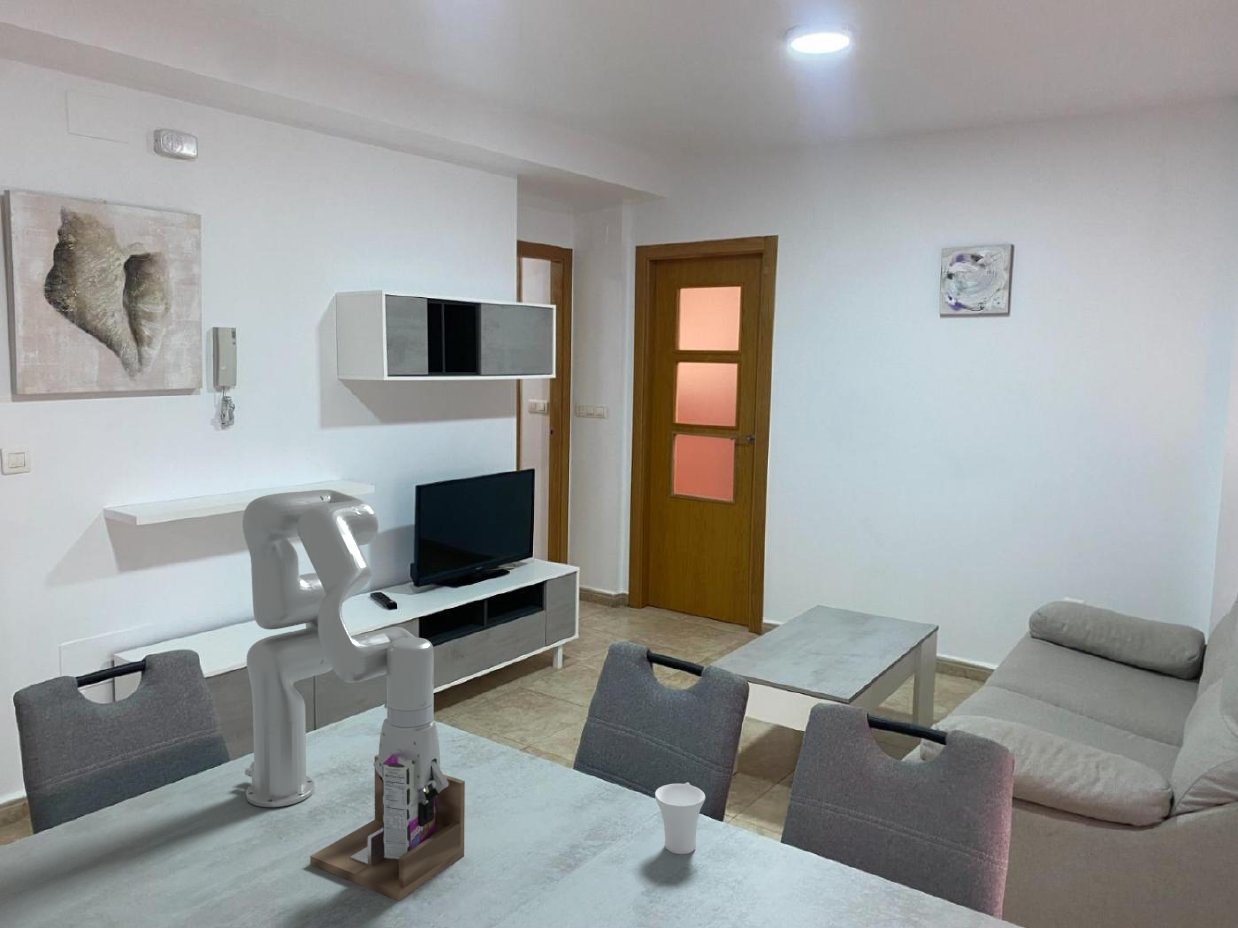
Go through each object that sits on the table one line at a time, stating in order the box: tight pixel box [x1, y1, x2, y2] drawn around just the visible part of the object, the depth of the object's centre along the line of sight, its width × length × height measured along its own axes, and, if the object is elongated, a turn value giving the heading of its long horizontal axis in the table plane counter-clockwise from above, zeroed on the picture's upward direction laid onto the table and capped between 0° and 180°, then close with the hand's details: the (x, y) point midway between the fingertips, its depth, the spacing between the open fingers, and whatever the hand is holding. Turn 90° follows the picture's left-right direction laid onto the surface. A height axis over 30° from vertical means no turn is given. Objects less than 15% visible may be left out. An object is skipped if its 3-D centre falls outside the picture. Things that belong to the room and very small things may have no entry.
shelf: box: [309, 753, 466, 901], centre depth 158 cm, size 20×16×14 cm
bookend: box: [350, 828, 384, 867], centre depth 159 cm, size 5×10×5 cm, turn 150°
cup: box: [654, 782, 706, 855], centre depth 165 cm, size 9×9×10 cm
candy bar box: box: [382, 755, 437, 860], centre depth 154 cm, size 11×5×16 cm, turn 168°
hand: (410, 816), depth 155 cm, fingers closed on candy bar box, 6 cm apart
